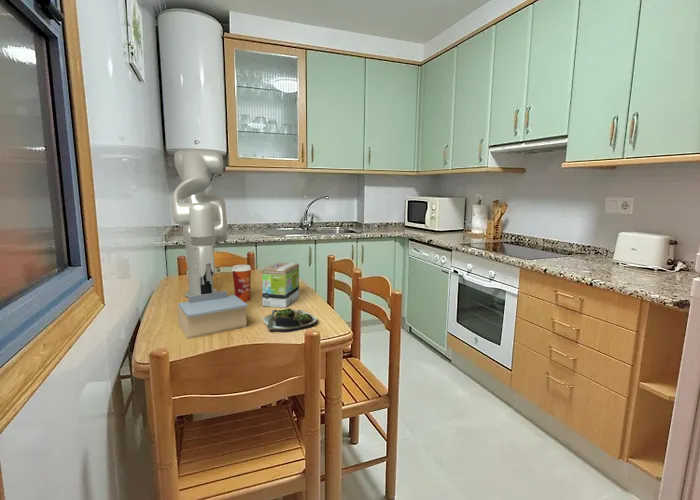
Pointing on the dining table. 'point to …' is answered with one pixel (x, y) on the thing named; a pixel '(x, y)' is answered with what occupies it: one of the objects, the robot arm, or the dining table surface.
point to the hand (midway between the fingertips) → (206, 295)
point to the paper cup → (242, 281)
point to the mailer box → (211, 322)
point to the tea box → (280, 284)
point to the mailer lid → (211, 303)
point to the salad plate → (289, 320)
